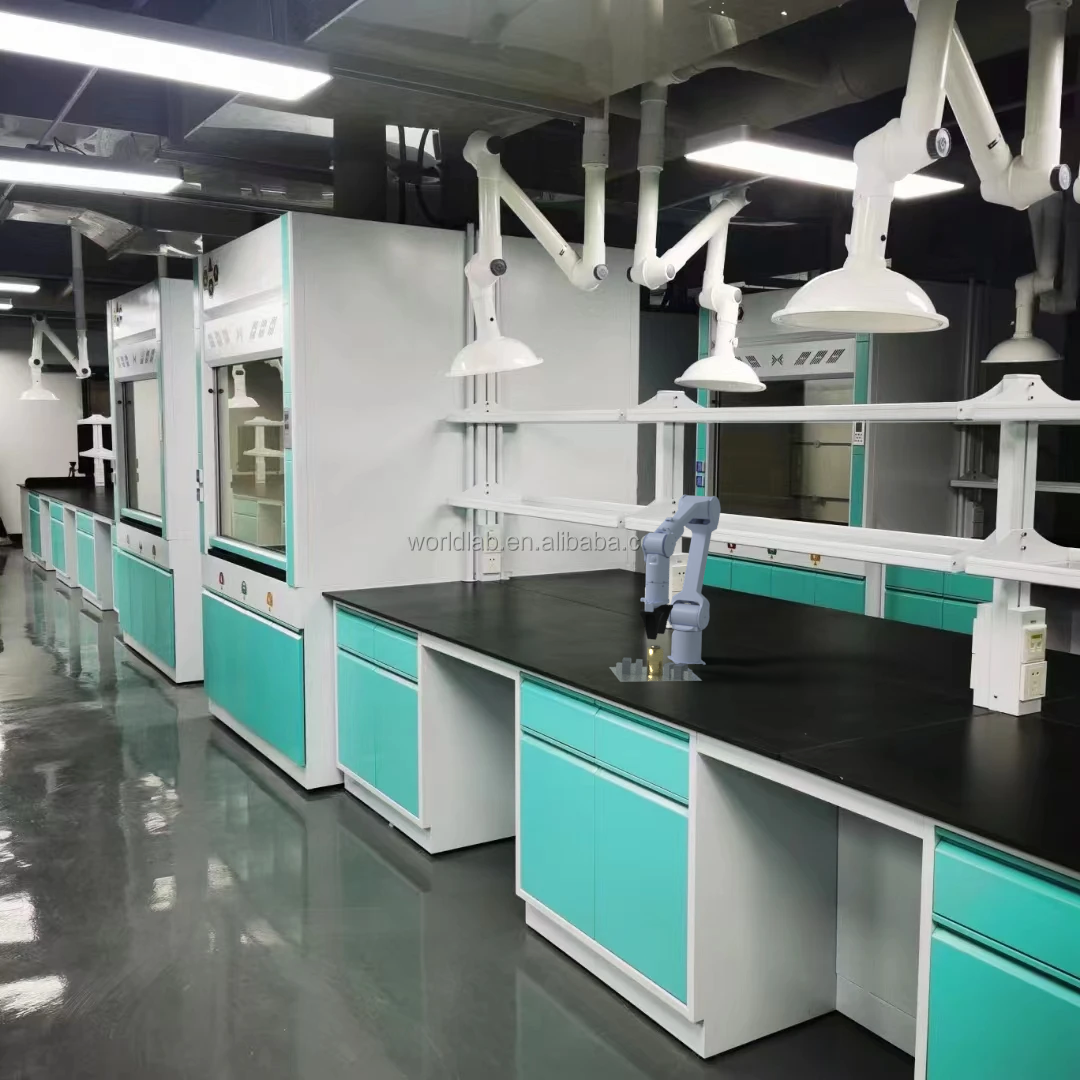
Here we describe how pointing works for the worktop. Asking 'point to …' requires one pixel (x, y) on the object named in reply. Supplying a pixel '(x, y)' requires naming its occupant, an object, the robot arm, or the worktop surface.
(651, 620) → the robot arm
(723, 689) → the worktop surface
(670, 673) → the shaft rig
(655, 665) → the cylinder
